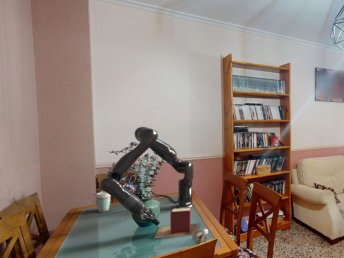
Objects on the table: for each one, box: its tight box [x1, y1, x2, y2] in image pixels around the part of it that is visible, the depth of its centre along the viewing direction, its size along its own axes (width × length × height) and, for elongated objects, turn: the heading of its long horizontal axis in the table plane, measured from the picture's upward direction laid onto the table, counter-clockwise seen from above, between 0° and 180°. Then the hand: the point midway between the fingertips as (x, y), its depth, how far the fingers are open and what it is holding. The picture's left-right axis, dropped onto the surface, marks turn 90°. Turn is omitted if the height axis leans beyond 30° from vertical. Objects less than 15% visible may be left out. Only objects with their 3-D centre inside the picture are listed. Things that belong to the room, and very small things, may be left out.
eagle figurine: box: [191, 228, 209, 246], centre depth 132 cm, size 8×7×9 cm
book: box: [169, 207, 192, 233], centre depth 143 cm, size 10×5×12 cm, turn 105°
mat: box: [153, 223, 200, 239], centre depth 144 cm, size 22×14×1 cm, turn 106°
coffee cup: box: [95, 191, 112, 213], centre depth 172 cm, size 8×8×12 cm
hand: (158, 224), depth 140 cm, fingers closed
